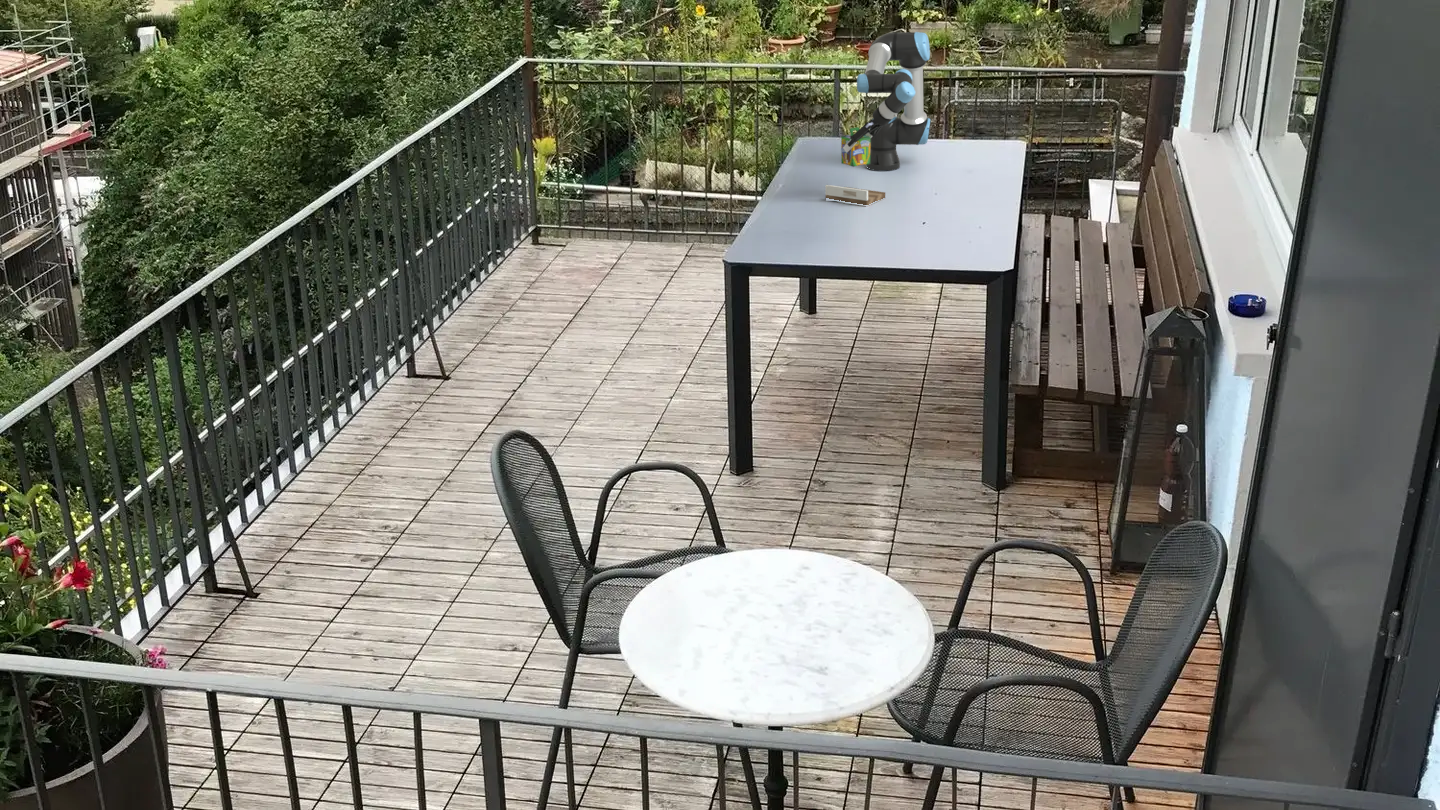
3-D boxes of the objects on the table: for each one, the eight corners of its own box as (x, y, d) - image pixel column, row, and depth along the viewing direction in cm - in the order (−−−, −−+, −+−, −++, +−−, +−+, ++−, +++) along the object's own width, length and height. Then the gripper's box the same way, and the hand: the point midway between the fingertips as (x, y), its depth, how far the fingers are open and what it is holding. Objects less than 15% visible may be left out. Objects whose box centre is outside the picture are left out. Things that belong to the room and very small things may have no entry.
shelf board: (844, 192, 577) (844, 177, 574) (885, 198, 566) (885, 183, 563) (825, 200, 566) (825, 185, 563) (866, 206, 554) (866, 191, 552)
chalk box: (852, 167, 556) (852, 131, 551) (840, 163, 564) (840, 128, 558) (871, 164, 560) (871, 128, 554) (859, 160, 568) (858, 124, 562)
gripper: (875, 125, 536) (843, 160, 551) (905, 114, 554) (873, 148, 568) (864, 111, 537) (831, 145, 552) (894, 100, 555) (862, 134, 569)
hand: (852, 147), depth 560 cm, fingers closed on chalk box, 11 cm apart
